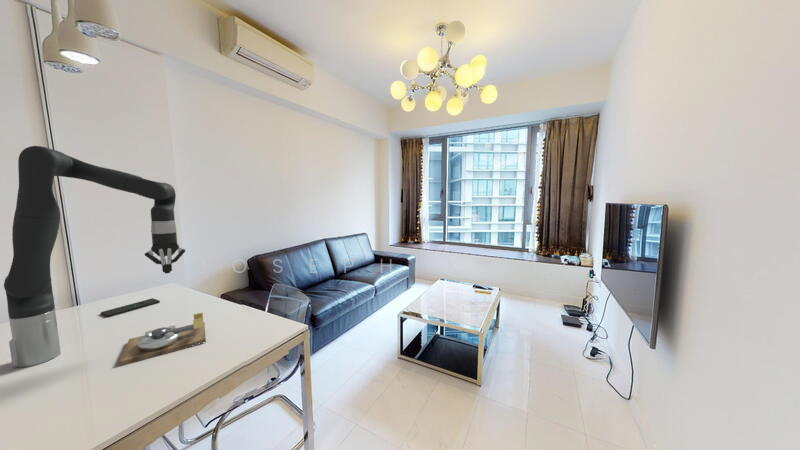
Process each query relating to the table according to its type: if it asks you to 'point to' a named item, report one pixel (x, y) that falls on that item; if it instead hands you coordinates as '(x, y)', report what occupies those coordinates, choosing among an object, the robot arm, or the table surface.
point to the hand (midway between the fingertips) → (167, 272)
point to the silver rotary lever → (166, 335)
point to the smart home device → (129, 307)
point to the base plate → (185, 340)
